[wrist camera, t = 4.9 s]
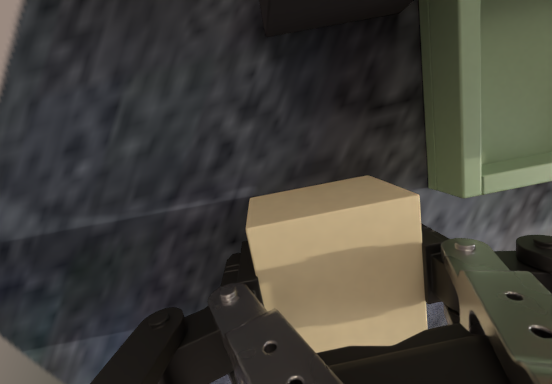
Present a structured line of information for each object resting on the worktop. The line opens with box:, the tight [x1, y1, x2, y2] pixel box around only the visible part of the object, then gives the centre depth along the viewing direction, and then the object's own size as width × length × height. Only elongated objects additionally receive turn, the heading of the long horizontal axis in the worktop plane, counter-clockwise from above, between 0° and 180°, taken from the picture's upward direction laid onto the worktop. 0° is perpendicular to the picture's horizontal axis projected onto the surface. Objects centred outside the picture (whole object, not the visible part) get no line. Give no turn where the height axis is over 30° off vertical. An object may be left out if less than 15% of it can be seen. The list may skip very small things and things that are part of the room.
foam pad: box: [246, 175, 427, 353], centre depth 11 cm, size 6×6×4 cm
